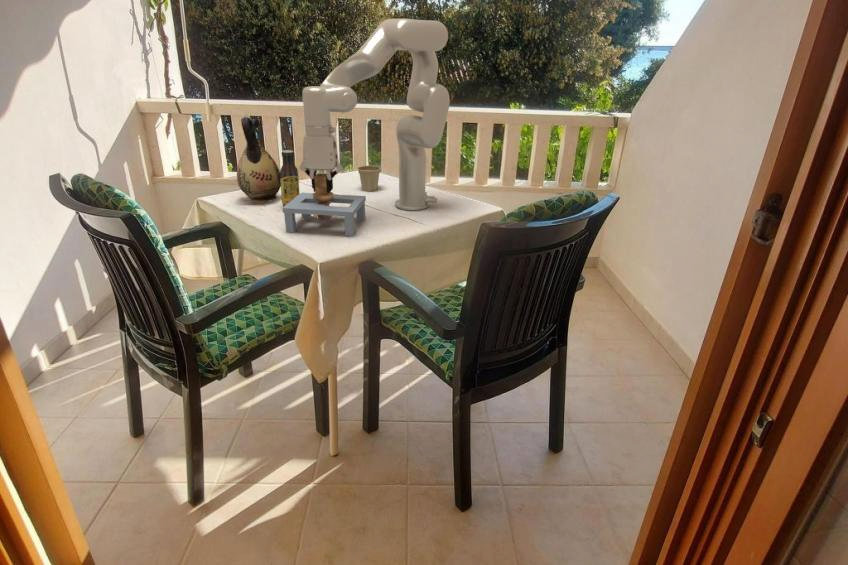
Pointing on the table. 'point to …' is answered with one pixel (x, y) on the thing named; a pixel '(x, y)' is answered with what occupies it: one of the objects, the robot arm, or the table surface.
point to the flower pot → (369, 177)
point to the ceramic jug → (257, 167)
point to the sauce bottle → (289, 178)
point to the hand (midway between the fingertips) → (322, 190)
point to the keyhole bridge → (325, 210)
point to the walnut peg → (322, 193)
